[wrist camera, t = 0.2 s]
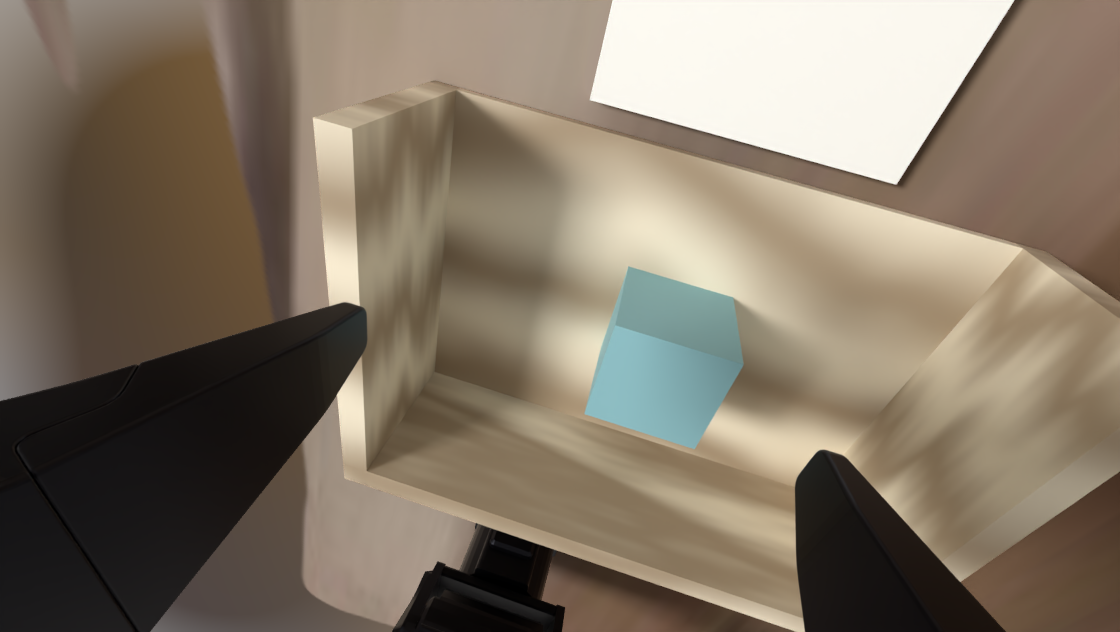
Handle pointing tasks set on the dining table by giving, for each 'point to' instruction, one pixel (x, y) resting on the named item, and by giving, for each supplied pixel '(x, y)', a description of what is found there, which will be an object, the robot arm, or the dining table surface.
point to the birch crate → (764, 330)
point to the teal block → (666, 358)
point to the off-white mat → (798, 71)
